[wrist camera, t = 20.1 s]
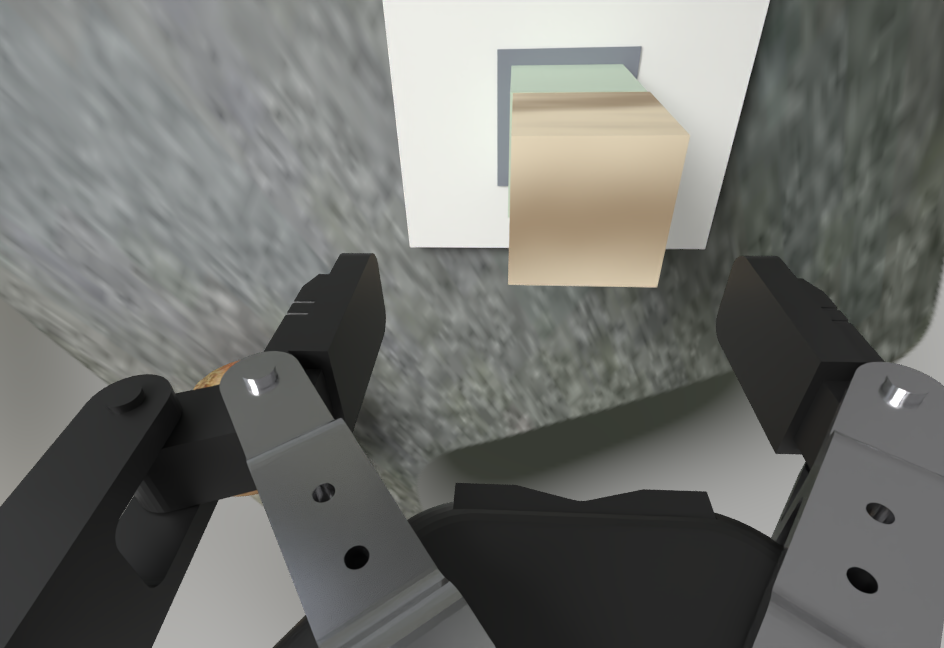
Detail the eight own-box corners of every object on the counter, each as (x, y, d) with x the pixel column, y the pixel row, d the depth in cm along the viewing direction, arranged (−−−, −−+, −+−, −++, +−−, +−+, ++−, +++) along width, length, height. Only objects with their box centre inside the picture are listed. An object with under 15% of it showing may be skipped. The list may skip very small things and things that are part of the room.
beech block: (512, 92, 21) (511, 135, 16) (650, 91, 21) (690, 135, 16) (509, 217, 24) (508, 284, 20) (628, 218, 24) (656, 287, 19)
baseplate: (382, -46, 25) (377, -46, 24) (776, -60, 23) (786, -61, 22) (412, 239, 33) (409, 247, 33) (700, 241, 32) (705, 249, 31)
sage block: (511, 65, 26) (510, 92, 21) (622, 64, 26) (647, 91, 21) (509, 172, 29) (507, 217, 24) (608, 173, 29) (626, 218, 24)
